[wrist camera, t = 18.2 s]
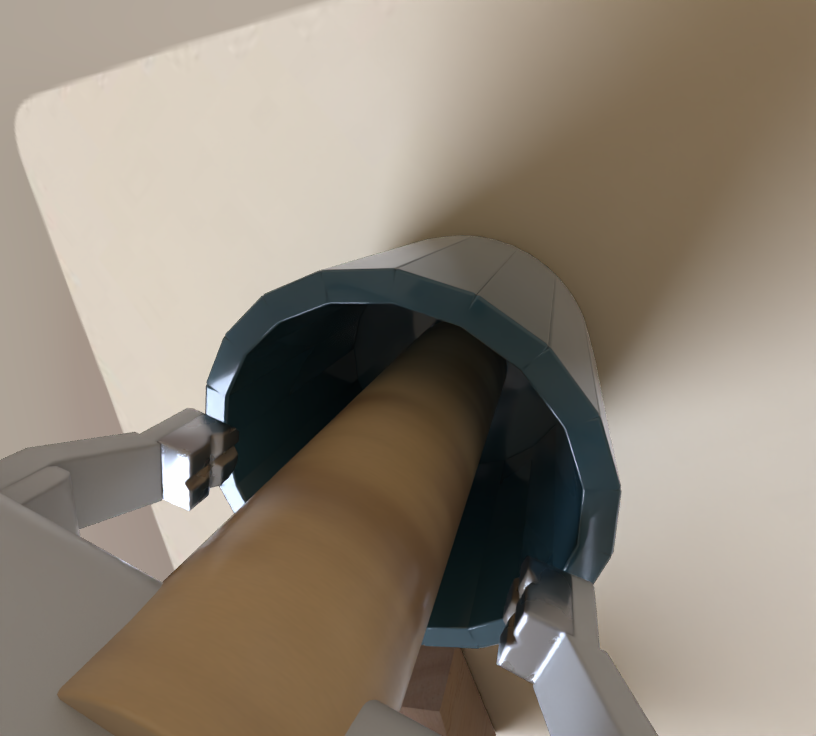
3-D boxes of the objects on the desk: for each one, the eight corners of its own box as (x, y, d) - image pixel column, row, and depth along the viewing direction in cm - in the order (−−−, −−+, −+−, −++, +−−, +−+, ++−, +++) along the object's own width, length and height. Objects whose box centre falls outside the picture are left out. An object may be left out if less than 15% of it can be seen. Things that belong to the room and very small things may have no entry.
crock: (534, 499, 21) (515, 707, 13) (334, 417, 24) (201, 544, 15) (641, 281, 16) (730, 375, 8) (373, 204, 19) (207, 208, 10)
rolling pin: (488, 423, 20) (304, 983, 6) (402, 390, 21) (57, 802, 6) (521, 338, 18) (364, 868, 4) (424, 306, 19) (3, 634, 5)
